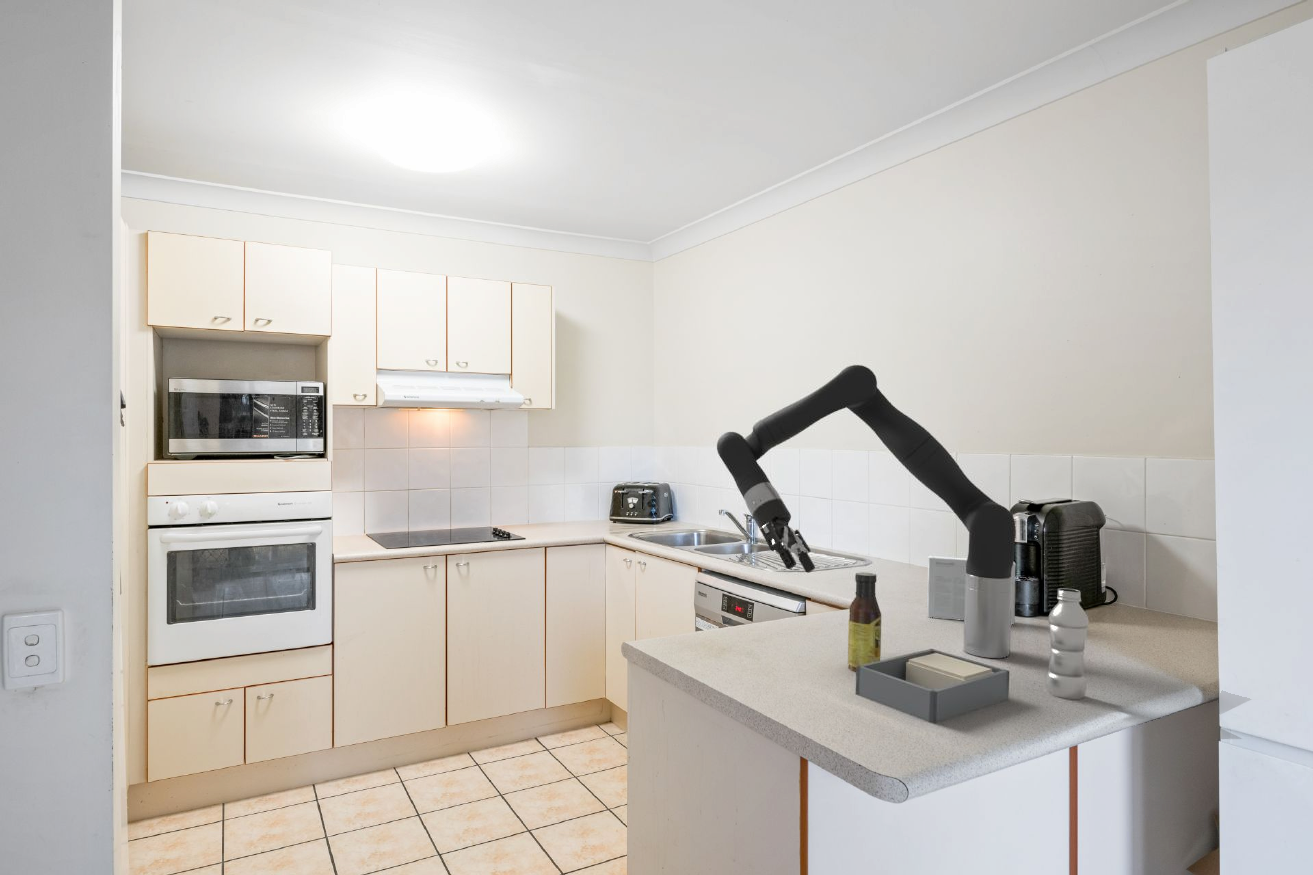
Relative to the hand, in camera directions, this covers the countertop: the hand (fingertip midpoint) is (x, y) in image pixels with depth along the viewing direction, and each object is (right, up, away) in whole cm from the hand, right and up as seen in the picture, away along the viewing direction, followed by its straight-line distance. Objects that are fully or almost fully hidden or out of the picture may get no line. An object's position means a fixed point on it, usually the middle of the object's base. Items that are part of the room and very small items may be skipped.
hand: (802, 568), depth 163 cm
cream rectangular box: (+22, -18, -23) cm, 37 cm away
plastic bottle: (+44, -20, -22) cm, 53 cm away
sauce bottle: (+10, -19, -11) cm, 24 cm away
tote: (+18, -19, -26) cm, 37 cm away
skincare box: (+51, -20, +37) cm, 66 cm away
